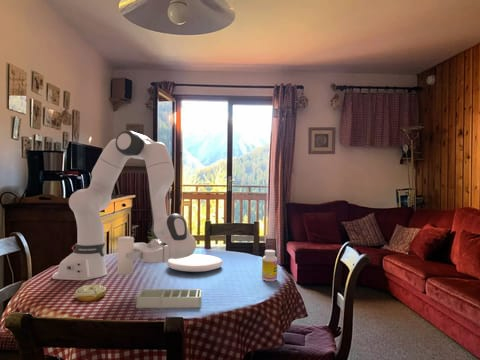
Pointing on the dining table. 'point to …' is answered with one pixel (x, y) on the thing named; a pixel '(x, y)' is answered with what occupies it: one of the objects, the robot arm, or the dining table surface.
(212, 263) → the plate
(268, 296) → the dining table surface
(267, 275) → the supplement bottle
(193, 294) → the rack
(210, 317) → the dining table surface
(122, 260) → the beige tall cylinder
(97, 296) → the decorated donut
